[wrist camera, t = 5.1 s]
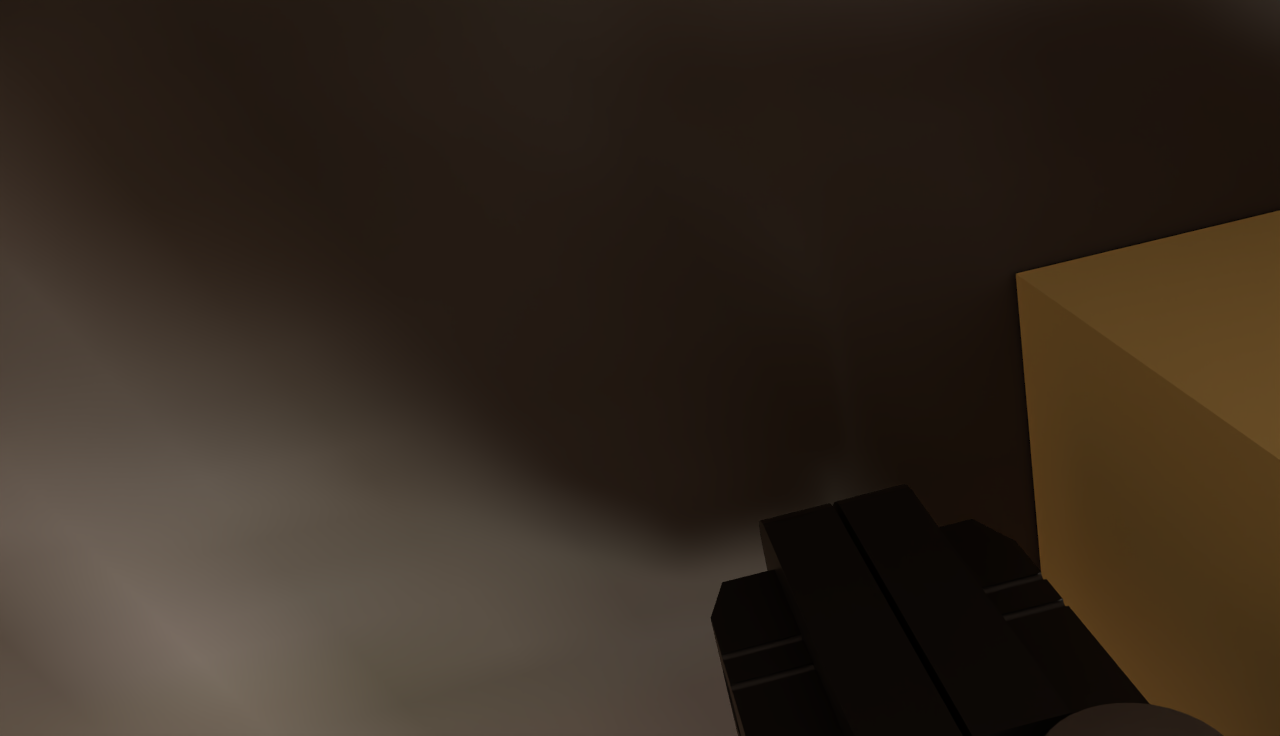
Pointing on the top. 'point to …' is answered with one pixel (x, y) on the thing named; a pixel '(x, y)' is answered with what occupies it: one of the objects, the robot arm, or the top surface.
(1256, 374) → the block
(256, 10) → the top surface
